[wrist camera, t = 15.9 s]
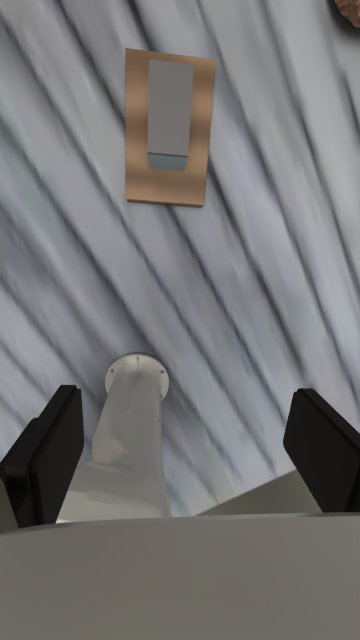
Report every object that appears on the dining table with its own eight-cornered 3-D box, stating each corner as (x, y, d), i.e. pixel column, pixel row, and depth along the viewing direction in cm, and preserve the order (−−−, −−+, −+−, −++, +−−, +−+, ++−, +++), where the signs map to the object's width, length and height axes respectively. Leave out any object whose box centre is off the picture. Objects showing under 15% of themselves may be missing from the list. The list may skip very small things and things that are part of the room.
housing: (187, 97, 35) (193, 64, 29) (183, 170, 38) (188, 155, 31) (151, 93, 35) (149, 59, 28) (149, 167, 37) (147, 152, 31)
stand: (200, 207, 42) (203, 205, 39) (128, 201, 41) (125, 198, 38) (211, 74, 37) (215, 59, 34) (128, 63, 36) (125, 48, 33)
